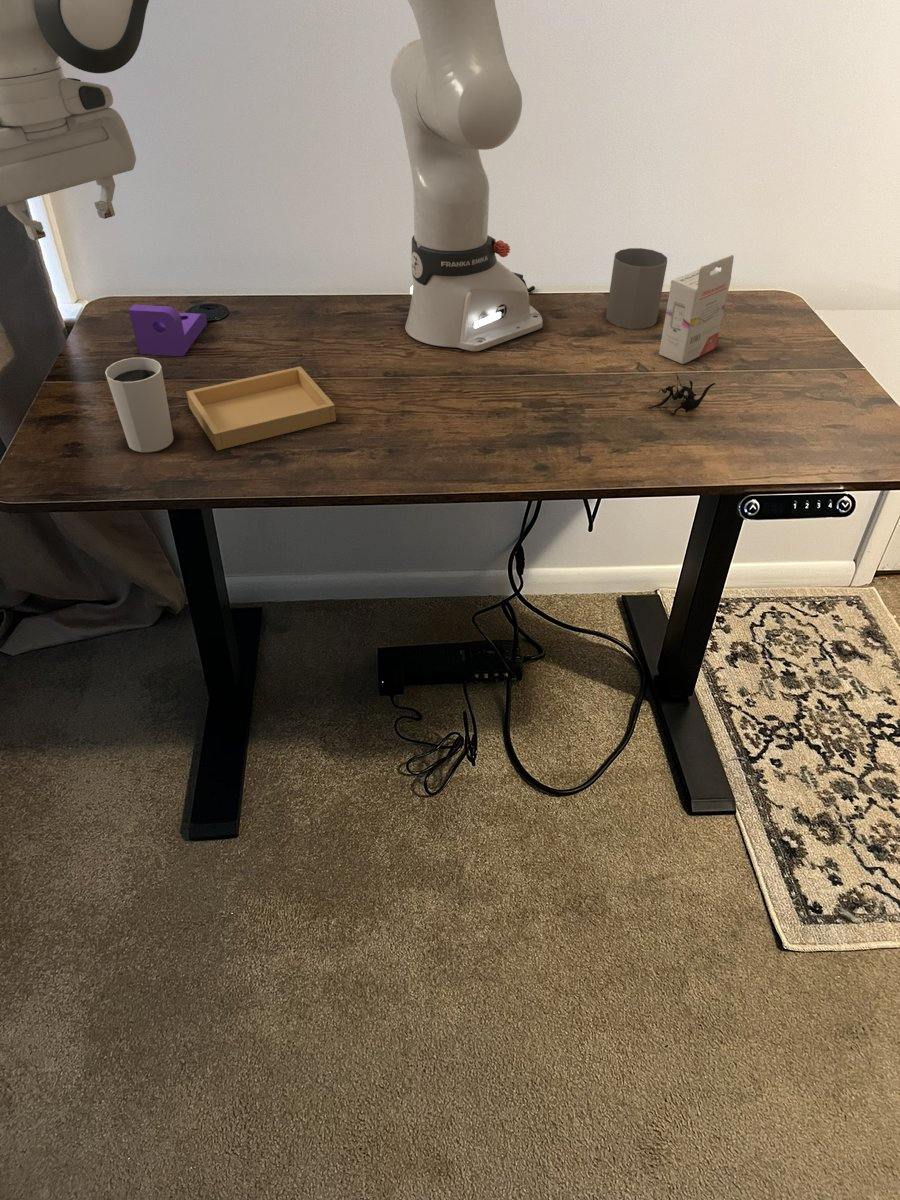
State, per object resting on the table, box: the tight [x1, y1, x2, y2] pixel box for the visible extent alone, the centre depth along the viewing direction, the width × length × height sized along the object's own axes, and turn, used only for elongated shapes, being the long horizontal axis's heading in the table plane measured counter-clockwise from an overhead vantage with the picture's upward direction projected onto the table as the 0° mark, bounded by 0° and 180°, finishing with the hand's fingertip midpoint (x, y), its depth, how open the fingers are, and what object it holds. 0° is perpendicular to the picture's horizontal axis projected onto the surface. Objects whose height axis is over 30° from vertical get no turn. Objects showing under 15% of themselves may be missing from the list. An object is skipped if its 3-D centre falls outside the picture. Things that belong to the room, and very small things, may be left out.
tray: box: [185, 366, 337, 451], centre depth 117 cm, size 17×13×2 cm
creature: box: [648, 372, 717, 416], centre depth 119 cm, size 8×5×8 cm
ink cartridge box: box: [658, 254, 735, 365], centre depth 129 cm, size 9×5×15 cm, turn 131°
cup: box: [605, 247, 668, 330], centre depth 140 cm, size 8×8×10 cm
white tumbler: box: [104, 357, 175, 453], centre depth 109 cm, size 7×7×10 cm
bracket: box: [128, 304, 208, 357], centre depth 133 cm, size 12×7×7 cm, turn 175°
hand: (73, 227), depth 107 cm, fingers open, 8 cm apart
